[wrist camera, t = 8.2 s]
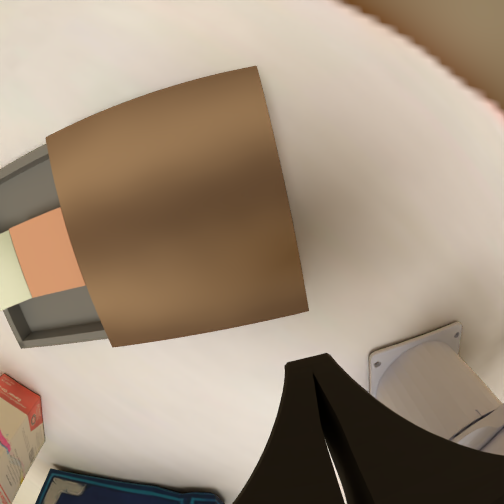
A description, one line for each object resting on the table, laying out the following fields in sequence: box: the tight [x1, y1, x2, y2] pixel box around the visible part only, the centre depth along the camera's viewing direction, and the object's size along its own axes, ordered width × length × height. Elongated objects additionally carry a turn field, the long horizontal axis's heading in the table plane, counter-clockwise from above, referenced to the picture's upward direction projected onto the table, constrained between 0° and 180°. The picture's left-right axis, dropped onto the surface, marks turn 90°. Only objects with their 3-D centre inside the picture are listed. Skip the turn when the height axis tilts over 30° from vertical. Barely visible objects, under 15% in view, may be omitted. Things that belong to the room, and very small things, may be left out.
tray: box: [0, 144, 108, 349], centre depth 16 cm, size 12×9×2 cm
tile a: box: [9, 207, 86, 298], centre depth 16 cm, size 4×4×2 cm
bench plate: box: [46, 66, 309, 347], centre depth 15 cm, size 12×11×3 cm
